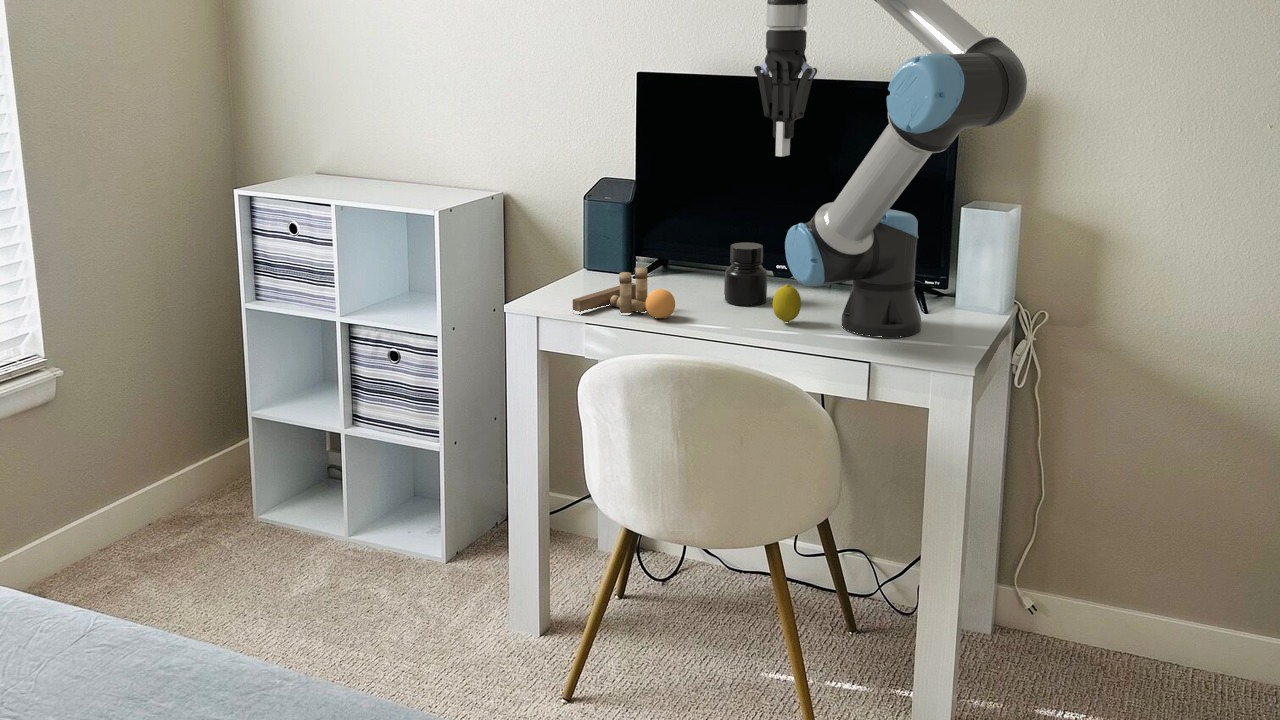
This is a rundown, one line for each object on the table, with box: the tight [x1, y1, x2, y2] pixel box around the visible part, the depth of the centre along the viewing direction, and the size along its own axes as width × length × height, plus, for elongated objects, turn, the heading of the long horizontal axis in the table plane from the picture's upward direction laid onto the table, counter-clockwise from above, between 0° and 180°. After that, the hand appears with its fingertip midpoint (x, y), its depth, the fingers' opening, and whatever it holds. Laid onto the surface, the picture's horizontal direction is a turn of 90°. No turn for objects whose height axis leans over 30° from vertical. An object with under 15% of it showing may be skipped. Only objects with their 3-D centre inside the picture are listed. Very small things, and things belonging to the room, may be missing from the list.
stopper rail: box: [572, 282, 636, 312], centre depth 244 cm, size 2×18×3 cm, turn 141°
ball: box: [645, 288, 676, 319], centre depth 234 cm, size 6×6×6 cm
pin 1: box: [618, 271, 633, 313], centre depth 237 cm, size 2×2×8 cm
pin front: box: [610, 295, 648, 313], centre depth 240 cm, size 2×2×8 cm
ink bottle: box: [723, 242, 768, 307], centre depth 245 cm, size 10×9×12 cm
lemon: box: [772, 283, 802, 323], centre depth 230 cm, size 6×6×8 cm
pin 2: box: [634, 267, 649, 302], centre depth 240 cm, size 2×2×8 cm
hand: (782, 155), depth 225 cm, fingers closed
